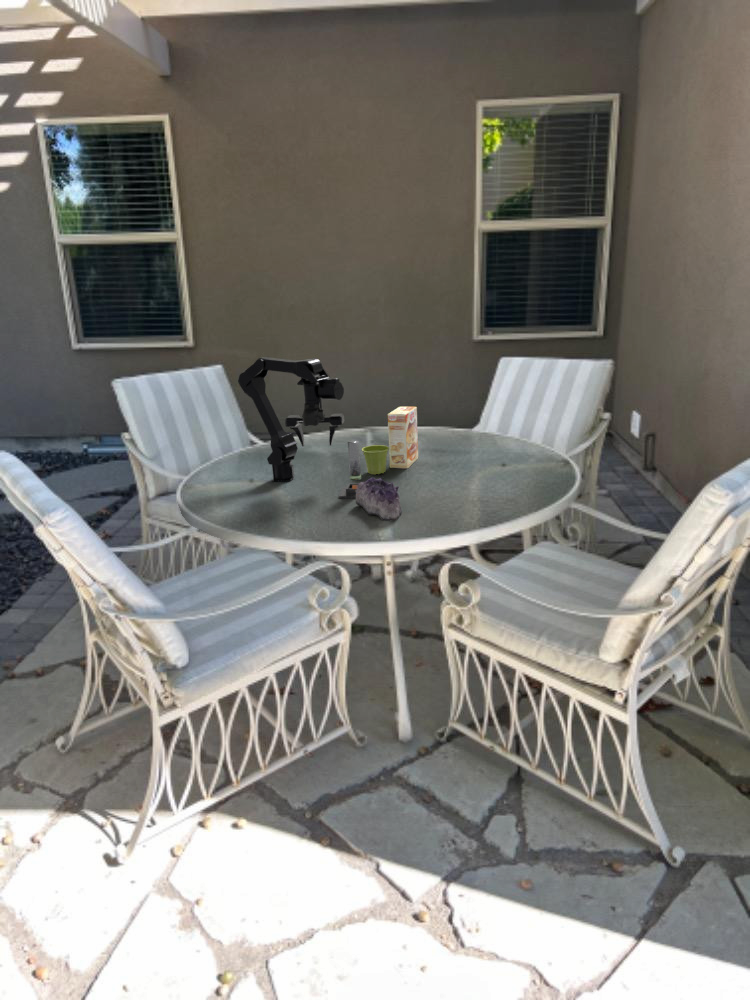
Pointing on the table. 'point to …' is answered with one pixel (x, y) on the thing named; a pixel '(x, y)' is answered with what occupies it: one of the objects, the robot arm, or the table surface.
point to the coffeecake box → (403, 437)
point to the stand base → (348, 491)
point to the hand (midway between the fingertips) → (316, 445)
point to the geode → (379, 498)
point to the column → (354, 460)
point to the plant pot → (375, 458)
